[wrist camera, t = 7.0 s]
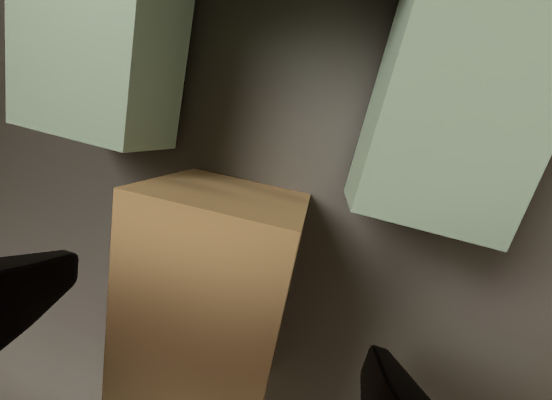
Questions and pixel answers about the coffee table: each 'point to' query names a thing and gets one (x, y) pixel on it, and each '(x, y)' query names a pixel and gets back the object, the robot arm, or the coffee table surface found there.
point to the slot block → (378, 121)
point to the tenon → (198, 286)
